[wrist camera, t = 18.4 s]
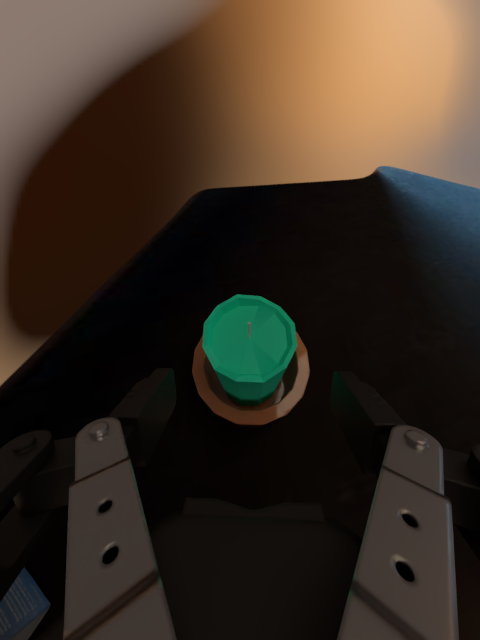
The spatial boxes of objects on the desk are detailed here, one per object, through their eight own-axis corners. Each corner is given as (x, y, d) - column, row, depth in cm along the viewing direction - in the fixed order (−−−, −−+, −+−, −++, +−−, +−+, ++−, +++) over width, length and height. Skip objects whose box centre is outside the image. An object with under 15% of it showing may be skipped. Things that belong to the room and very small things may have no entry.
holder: (250, 316, 27) (250, 293, 23) (317, 376, 24) (333, 361, 19) (184, 374, 24) (169, 360, 20) (250, 452, 21) (250, 456, 16)
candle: (215, 356, 24) (189, 292, 14) (268, 342, 25) (282, 271, 14) (227, 413, 22) (206, 390, 11) (287, 397, 22) (321, 359, 12)
